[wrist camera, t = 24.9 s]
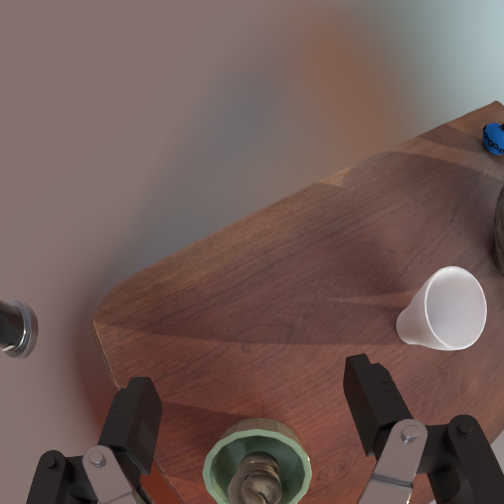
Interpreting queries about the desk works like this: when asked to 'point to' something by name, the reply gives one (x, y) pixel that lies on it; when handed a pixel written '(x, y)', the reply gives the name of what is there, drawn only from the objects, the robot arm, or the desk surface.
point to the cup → (445, 311)
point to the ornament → (494, 138)
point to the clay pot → (499, 232)
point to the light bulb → (256, 480)
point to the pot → (258, 439)
